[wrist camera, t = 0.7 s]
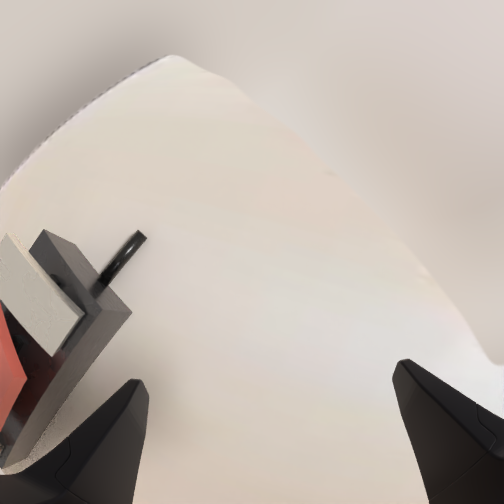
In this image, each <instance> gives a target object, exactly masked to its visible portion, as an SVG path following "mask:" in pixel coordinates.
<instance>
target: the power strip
mask: <svg viewBox="0 0 504 504" xmlns="http://www.w3.org/2000/svg"><path fill="white" fill-rule="evenodd" d="M146 239H147V237H146V236H145V235H144V234H142V233H141V232H140V231H139V230H137V231H136V233H135V234H134V235H133V236H132V237H131V238H130V240H129V241H128V242H127V243H126V244H125V245H124V247H123V248H122V249H121V250H120V251H119V253H118V254H117V255H116V256H115V257H114V259H113V260H112V261H111V262H110V264H109V265H108V266H107V267H106V269H105V270H104V271H103V272H102V274H101V275H99V274H98V273H97V272H96V270H95V269H94V268H93V267H92V265H91V264H90V263H89V262H88V260H87V259H86V258H85V257H84V255H83V254H82V253H81V251H80V250H79V249H78V248H77V246H76V245H75V244H73V243H71V242H69V241H67V240H65V239H63V238H61V237H59V236H57V235H55V234H53V233H51V232H49V231H47V230H45V229H43V231H42V232H41V234H40V235H39V237H38V238H37V239H36V241H35V242H34V244H33V245H32V247H31V248H30V250H29V251H28V250H27V249H26V248H25V246H24V245H23V244H22V243H21V241H20V240H19V239H18V237H17V236H16V235H15V234H11V233H6V234H5V236H4V238H3V239H2V241H1V243H0V299H1V300H0V303H1V307H2V310H3V314H4V317H5V321H6V324H7V327H8V330H9V333H10V336H11V339H12V342H13V345H14V347H15V350H16V353H17V355H18V358H19V360H20V363H21V365H22V368H23V370H24V372H25V375H26V377H27V380H26V382H25V383H24V385H23V387H22V389H21V391H20V393H19V395H18V397H17V398H16V400H15V402H14V404H13V406H12V408H11V410H10V412H9V415H8V417H7V419H6V421H5V423H4V425H3V427H2V430H1V432H0V467H1V469H4V468H6V467H8V466H10V465H13V464H15V463H17V462H19V461H21V460H23V459H26V458H27V456H28V455H29V453H30V452H31V450H32V449H33V447H34V445H35V444H36V442H37V441H38V439H39V438H40V436H41V435H42V433H43V432H44V430H45V429H46V427H47V426H48V424H49V423H50V421H51V420H52V418H53V417H54V416H55V414H56V413H57V411H58V410H59V408H60V407H61V405H62V404H63V403H64V401H65V400H66V398H67V397H68V396H69V394H70V393H71V391H72V390H73V389H74V387H75V386H76V385H77V383H78V382H79V380H80V379H81V378H82V376H83V375H84V374H85V372H86V371H87V370H88V368H89V367H90V366H91V364H92V363H93V362H94V360H95V359H96V358H97V357H98V355H99V354H100V353H101V351H102V350H103V349H104V347H105V346H106V345H107V344H108V342H109V341H110V340H111V339H112V337H113V336H114V335H115V333H116V332H117V331H118V330H119V328H120V327H121V326H122V325H123V323H124V322H125V321H126V320H127V319H128V317H129V316H130V315H131V314H132V311H131V310H130V309H129V308H128V307H127V306H126V305H125V304H124V303H123V302H122V300H121V299H120V298H119V297H118V296H117V295H116V294H115V293H114V292H113V290H112V289H111V288H110V287H109V286H108V285H109V284H110V283H111V281H112V280H113V279H114V278H115V276H116V275H117V274H118V273H119V271H120V270H121V269H122V268H123V266H124V265H125V264H126V263H127V262H128V260H129V259H130V258H131V257H132V256H133V254H134V253H135V252H136V251H137V250H138V249H139V247H140V246H141V245H142V244H143V243H144V242H145V240H146Z"/></svg>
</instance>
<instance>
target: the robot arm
mask: <svg viewBox="0 0 504 504" xmlns="http://www.w3.org/2000/svg"><path fill="white" fill-rule="evenodd" d="M392 381H393V385H394V389H395V393H396V397H397V401H398V405H399V409H400V412H401V416H402V419H403V422H404V424H405V427H406V430H407V433H408V436H409V439H410V441H411V444H412V447H413V450H414V453H415V456H416V459H417V463H418V466H419V469H420V472H421V475H422V479H423V482H424V486H425V489H426V493H427V496H428V500H429V504H504V419H502V418H500V417H499V416H497V415H495V414H493V413H491V412H490V411H488V410H487V409H485V408H483V407H482V406H480V405H479V404H476V402H474V401H473V400H471V399H470V398H468V397H466V396H465V395H463V394H462V393H460V392H459V391H457V390H456V389H454V388H453V387H451V386H450V385H448V384H447V383H445V382H444V381H442V380H441V379H439V378H438V377H436V376H435V375H433V374H432V373H430V372H428V371H427V370H425V369H424V368H422V367H421V366H419V365H418V364H416V363H415V362H413V361H412V360H410V359H404V360H400V361H399V362H398V363H397V365H396V368H395V371H394V373H393V377H392ZM148 406H149V394H148V392H147V390H146V388H145V385H144V383H143V381H142V380H140V379H130V380H128V381H127V382H126V383H125V384H124V385H123V386H122V387H121V388H120V389H119V390H118V391H117V392H116V393H114V394H113V395H112V396H111V397H110V398H109V399H108V400H107V401H106V402H105V403H104V404H103V405H101V406H100V407H99V408H98V409H97V410H96V411H95V412H94V413H93V414H92V415H91V416H90V417H88V418H87V419H86V420H85V421H84V422H83V423H82V424H81V425H80V426H79V427H78V428H76V429H75V430H74V431H73V432H72V433H71V434H70V435H69V437H66V438H65V439H64V440H63V441H62V442H61V443H60V444H59V445H57V446H56V447H55V448H54V449H53V450H51V451H50V452H49V453H47V454H46V455H45V456H43V457H42V458H41V459H39V460H38V461H36V462H35V463H33V464H32V465H31V466H29V467H28V468H26V469H25V470H23V471H21V472H19V473H16V474H11V475H0V504H132V502H133V496H134V490H135V485H136V479H137V474H138V469H139V464H140V459H141V454H142V449H143V445H144V440H145V434H146V425H147V415H148Z"/></svg>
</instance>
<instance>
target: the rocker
mask: <svg viewBox="0 0 504 504" xmlns="http://www.w3.org/2000/svg"><path fill="white" fill-rule="evenodd" d="M26 380H27V377H26V375H25V372H24V370H23V368H22V365H21V363H20V360H19V358H18V355H17V353H16V350H15V347H14V345H13V342H12V339H11V336H10V333H9V330H8V327H7V324H6V321H5V317H4V314H3V310H2V307H1V303H0V432H1V430H2V427H3V425H4V423H5V421H6V419H7V417H8V415H9V412H10V410H11V408H12V406H13V404H14V402H15V400H16V398H17V397H18V395H19V393H20V391H21V389H22V387H23V385H24V383H25V382H26Z"/></svg>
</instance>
